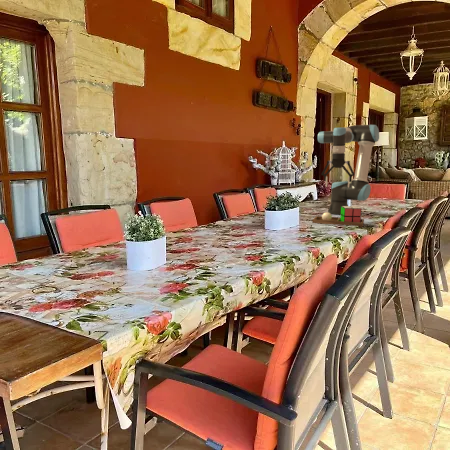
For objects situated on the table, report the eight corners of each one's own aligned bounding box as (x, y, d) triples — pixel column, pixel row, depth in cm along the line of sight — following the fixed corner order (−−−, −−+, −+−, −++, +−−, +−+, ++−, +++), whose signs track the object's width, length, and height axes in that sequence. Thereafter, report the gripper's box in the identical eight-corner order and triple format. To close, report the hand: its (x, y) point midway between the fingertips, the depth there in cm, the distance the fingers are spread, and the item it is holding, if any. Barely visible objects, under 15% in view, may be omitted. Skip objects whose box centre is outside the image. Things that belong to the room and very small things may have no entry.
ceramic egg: (322, 220, 271) (322, 211, 270) (332, 221, 268) (332, 211, 267) (320, 222, 265) (321, 212, 264) (330, 222, 263) (331, 213, 262)
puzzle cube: (360, 224, 257) (361, 208, 255) (343, 224, 257) (344, 208, 255) (356, 222, 266) (357, 206, 265) (340, 221, 267) (341, 206, 265)
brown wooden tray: (316, 220, 277) (316, 216, 276) (363, 223, 266) (364, 219, 266) (312, 224, 263) (312, 219, 262) (362, 227, 252) (362, 222, 252)
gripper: (317, 153, 266) (316, 187, 270) (359, 153, 258) (357, 188, 262) (319, 152, 273) (318, 185, 277) (359, 152, 265) (358, 186, 269)
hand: (337, 186), depth 270 cm, fingers open, 13 cm apart
